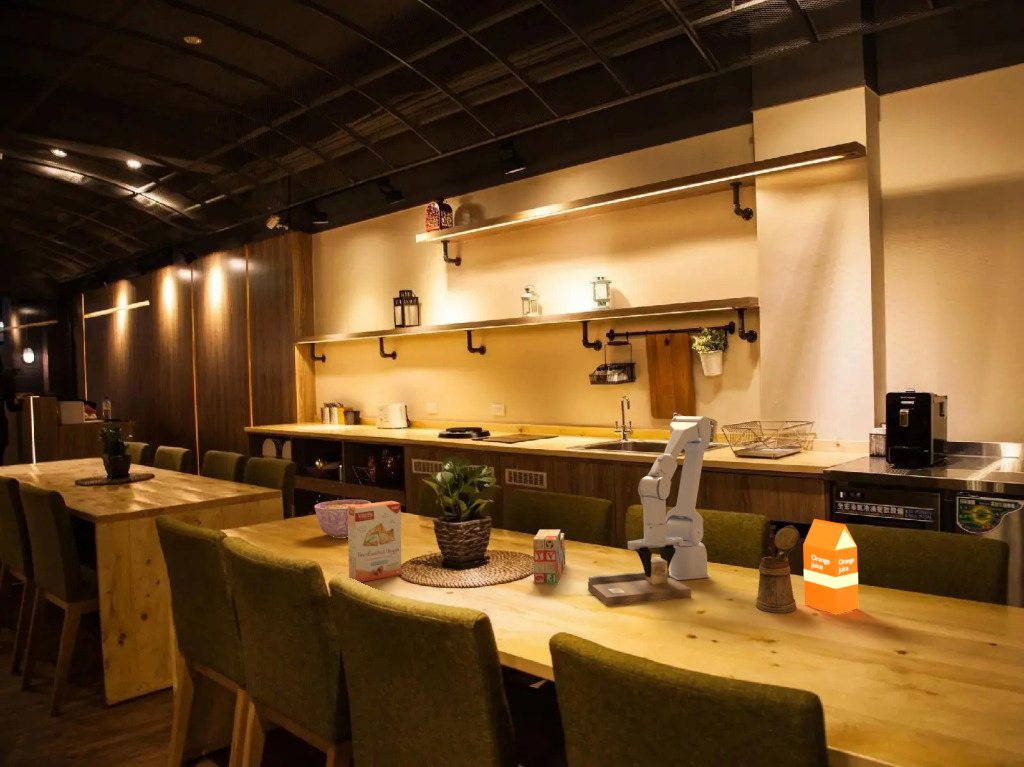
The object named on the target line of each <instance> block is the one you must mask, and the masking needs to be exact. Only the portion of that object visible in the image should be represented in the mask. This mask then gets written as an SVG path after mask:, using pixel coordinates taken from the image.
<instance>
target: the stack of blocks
mask: <svg viewBox="0 0 1024 767" xmlns="http://www.w3.org/2000/svg"><path fill="white" fill-rule="evenodd" d="M532 539H533V540H532V541H533V542H532V543H533V544H532V546H533V548H532V549H533V584H539V585H540V584H543V585H544V584H549V585H551V584H552V585H557V583H559V582H558V581H559V580H560V578H561V576H562V572H563V570H564V568H565V566H566V544H565V533H564V532H561V529H539V530H538V531H537V534H536V535H535V536H534V537H533V538H532Z"/></svg>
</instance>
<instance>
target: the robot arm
mask: <svg viewBox="0 0 1024 767" xmlns="http://www.w3.org/2000/svg"><path fill="white" fill-rule="evenodd" d="M669 431H670V437H669V440H668V442H667V444H666V447H665V450H664V452H663V453H662V454H659V455H657V457H656V459H655V461H654V463H653V465H652V467H651V469H650V471H649V472H648V474H647V475H646V476H644V477H642V478H641V479H640V480H639V484H638V488H637V491H638V494H639V497H640V503H641V505H642V506H643V507H642V509H643V510H642V513H643V514H642V515H643V538H640V539H635V540H630V541H629V540H627V549H628V550H630V551H635V550H636V553H637V555H638V557H639V559H640V561H641V564H642V567H643V572H645V576H647V577H651V557H653V552H652V551H650V549H654V548H658V549H659V555H660V556H659V557H660V558H662V559H664V560H666V561H667V573H668V570H669V576H670V577H671V578H673V579H675V580H676V581H682V580H683V581H684V580H694V579H696V580H697V579H704V578H709V577H710V576H709V574H708V553H707V549H706V546H705V544H704V543H703V542H702V540H703V537H704V517H703V516H702V515H701V514H700V513H699V512H698V511H697V510H696V505H697V500H698V499H697V498H698V492H699V487H700V481H701V480H700V479H701V473H702V468H703V463H704V462H703V461H704V455H705V450H707V449H708V448H709V446H710V443H711V442H710V440H711V434H712V426H711V422H710V419H709V418H708V417H707V416H705V415H702V416H684V415H683V416H681V415H680V416H679V415H675V416H674V417H673V418H672V419H671V421H670V424H669ZM683 450H684V458H683V463H682V464H683V465H682V469H681V476H680V482H679V487H678V488H679V489H678V492H677V493H678V494H677V500H676V506H674V507H672V508H671V509H669V510H668V511H667V509H666V508H667V507H666V506H667V503H666V499H667V498H668V497H669V496H670V491H671V486H672V481H671V480H672V478H673V476H674V474H675V471H676V470H677V468H678V462H677V459H678V457H679V456H680V454H681V452H682V451H683ZM669 568H670V569H669Z"/></svg>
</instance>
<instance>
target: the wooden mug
mask: <svg viewBox="0 0 1024 767" xmlns="http://www.w3.org/2000/svg"><path fill="white" fill-rule="evenodd" d="M774 537H775V538H774V546H775V548H776V550H777V552H776V553H777V554H776V557H775V556H774V557H771V556H766V557H761V559H760V564H759V565H758V566H759V567H758V572H759V580H758V592H757V596H756V602H755V607H756V608H757V609H759V610H761V611H764V612H768V613H777V614H787V613H786V612H788V613H793V612H794V610H795V609H796V610H797V604H796V599H795V598H794V591H793V584H792V579H791V567H790V564H789V558H788V556H789V554H790V552H791V551H793V550H795V549H796V548H797V547H798V545H799V543H800V538H801V535H800V532H799V530H798V529H797V528H796V527H795V526H794V525H793V524H789V525H786V526H784V527H783V528H780V529H779V530H778V531H777V532H776V534H775V536H774ZM796 610H795V611H796ZM792 611H793V612H792Z"/></svg>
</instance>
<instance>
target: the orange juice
mask: <svg viewBox="0 0 1024 767" xmlns="http://www.w3.org/2000/svg"><path fill="white" fill-rule="evenodd" d="M802 545H803V549H802V550H803V582H804V585H803V586H804V606H806V605H809V606H812V607H816V608H819V609H821V610H825V611H828V612H831V613H835V614H838V613H842V612H845V611H849V610H852V609H856V608H858V609H859V572H858V546H857V544H856V542H855V541H854V538H853V537H852V535H851V532H850V531H849V529H848V527H847V526H846V524H843V523H838V522H833V521H827V520H822V519H817V518H814V519H813V521H812V524H811V526H810V528H809V530H808V533H807V535H806V537H805V540H804V543H803V544H802ZM809 606H808V607H809ZM812 607H811V608H812ZM821 610H820V611H821ZM825 611H824V612H825ZM828 612H827V613H828ZM831 613H830V614H831Z"/></svg>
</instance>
